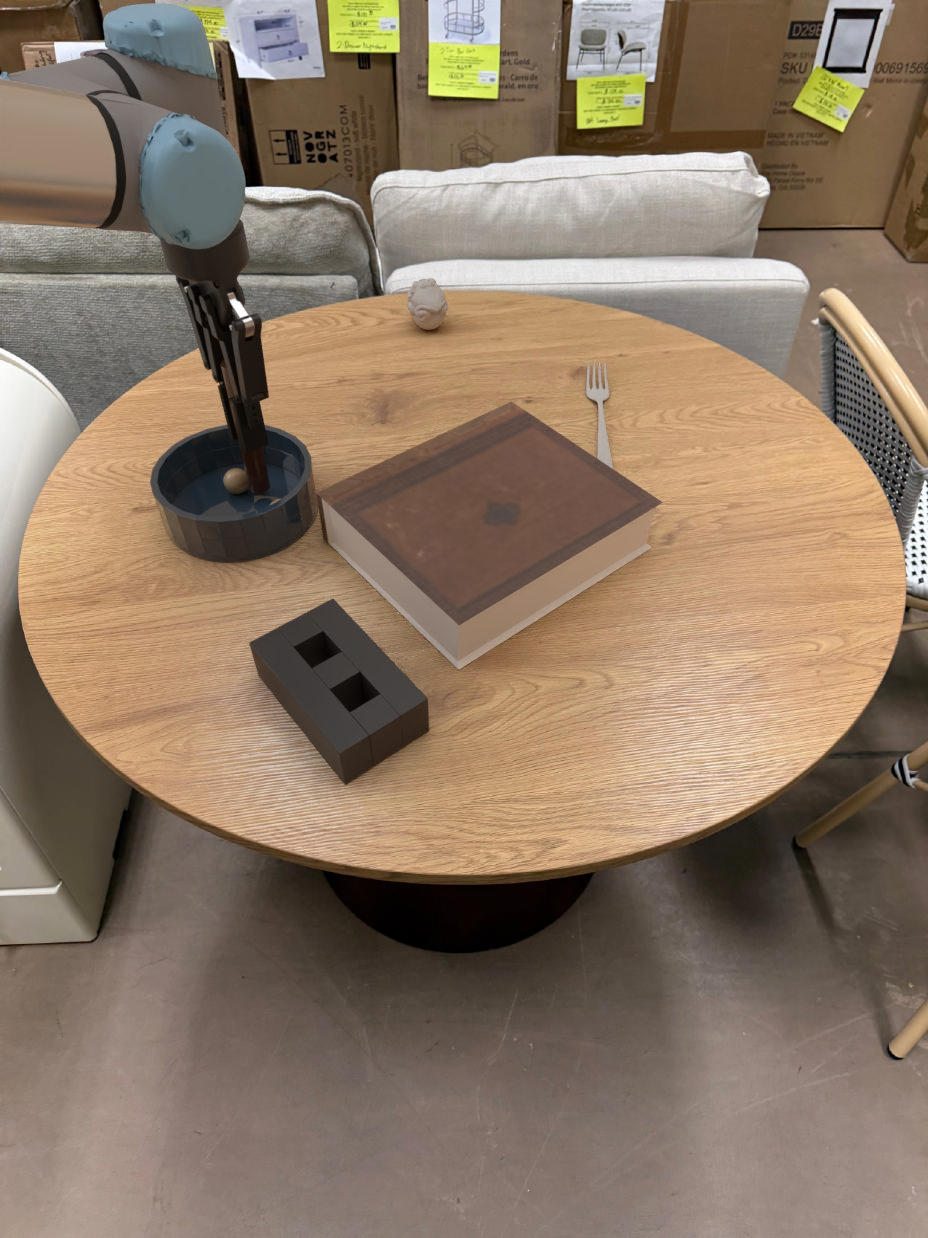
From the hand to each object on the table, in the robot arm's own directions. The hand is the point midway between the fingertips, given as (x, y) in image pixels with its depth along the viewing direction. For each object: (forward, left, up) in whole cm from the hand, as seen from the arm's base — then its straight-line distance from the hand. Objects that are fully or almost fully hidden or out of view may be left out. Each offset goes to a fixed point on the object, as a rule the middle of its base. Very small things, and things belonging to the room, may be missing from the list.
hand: (249, 440), depth 90 cm
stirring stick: (0, 0, -6) cm, 6 cm away
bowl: (-3, 0, -9) cm, 9 cm away
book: (+16, -22, -9) cm, 29 cm away
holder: (-9, -31, -9) cm, 33 cm away
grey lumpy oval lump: (+40, +21, -9) cm, 46 cm away
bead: (-2, +2, -6) cm, 7 cm away
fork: (+43, -13, -9) cm, 46 cm away
